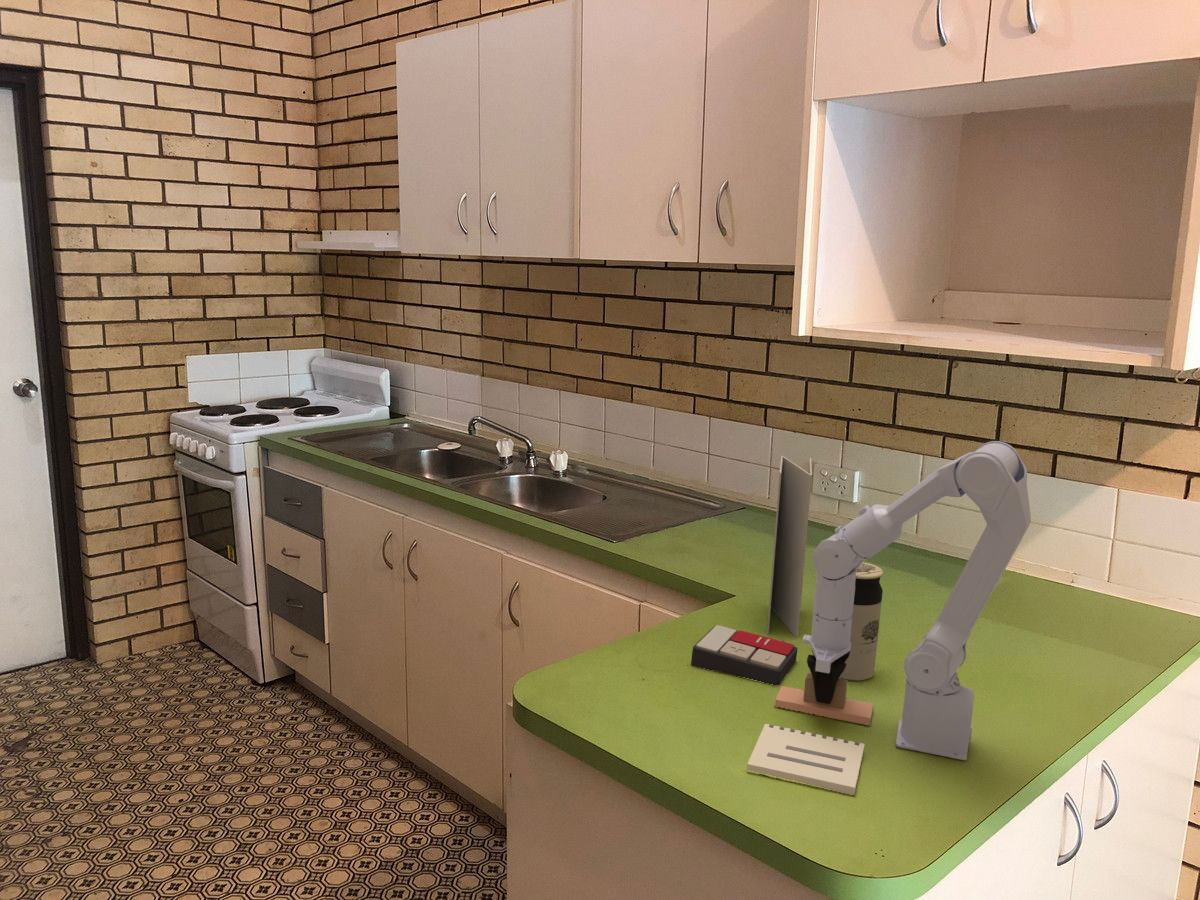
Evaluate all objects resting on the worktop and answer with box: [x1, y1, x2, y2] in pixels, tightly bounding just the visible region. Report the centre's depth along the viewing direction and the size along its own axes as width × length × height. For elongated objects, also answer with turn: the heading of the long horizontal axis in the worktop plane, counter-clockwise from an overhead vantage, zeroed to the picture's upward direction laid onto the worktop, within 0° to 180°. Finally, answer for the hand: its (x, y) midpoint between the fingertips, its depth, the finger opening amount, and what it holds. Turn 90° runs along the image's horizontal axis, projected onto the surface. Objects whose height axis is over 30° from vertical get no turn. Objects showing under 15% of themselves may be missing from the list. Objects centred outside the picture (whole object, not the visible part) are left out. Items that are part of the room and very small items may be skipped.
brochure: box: [766, 455, 813, 638], centre depth 179 cm, size 14×6×30 cm, turn 168°
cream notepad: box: [746, 723, 866, 796], centre depth 133 cm, size 14×12×1 cm
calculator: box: [690, 624, 798, 686], centre depth 163 cm, size 11×4×15 cm
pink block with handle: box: [774, 672, 874, 726], centre depth 148 cm, size 14×5×5 cm, turn 69°
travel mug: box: [839, 561, 884, 682], centre depth 160 cm, size 8×8×18 cm
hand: (824, 697), depth 148 cm, fingers closed on pink block with handle, 2 cm apart
